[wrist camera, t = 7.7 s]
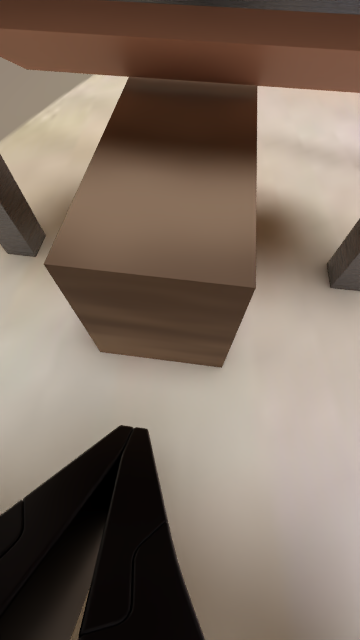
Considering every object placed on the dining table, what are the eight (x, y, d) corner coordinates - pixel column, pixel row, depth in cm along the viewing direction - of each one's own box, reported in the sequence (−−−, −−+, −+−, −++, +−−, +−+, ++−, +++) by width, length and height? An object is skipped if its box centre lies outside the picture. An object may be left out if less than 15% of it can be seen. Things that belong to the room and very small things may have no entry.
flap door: (373, 93, 14) (462, 57, 9) (27, 69, 15) (-68, 24, 10) (383, 62, 14) (485, 4, 9) (22, 38, 15) (-81, -26, 9)
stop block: (221, 368, 16) (255, 287, 9) (101, 352, 16) (43, 264, 9) (232, 201, 23) (257, 78, 16) (146, 192, 23) (132, 69, 16)
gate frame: (362, 293, 18) (745, -75, 6) (6, 255, 20) (-286, -113, 7) (356, 264, 19) (667, -96, 7) (20, 230, 21) (-214, -126, 8)
